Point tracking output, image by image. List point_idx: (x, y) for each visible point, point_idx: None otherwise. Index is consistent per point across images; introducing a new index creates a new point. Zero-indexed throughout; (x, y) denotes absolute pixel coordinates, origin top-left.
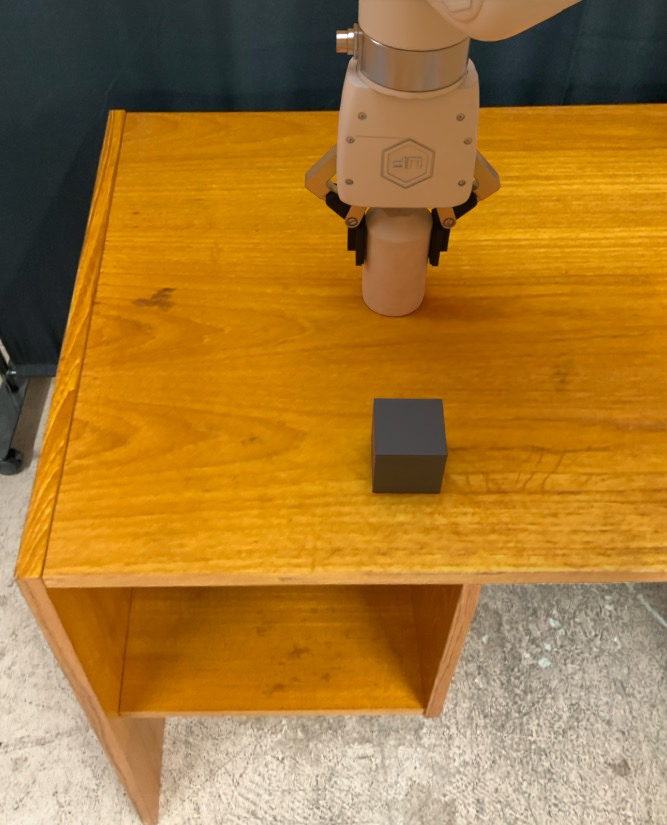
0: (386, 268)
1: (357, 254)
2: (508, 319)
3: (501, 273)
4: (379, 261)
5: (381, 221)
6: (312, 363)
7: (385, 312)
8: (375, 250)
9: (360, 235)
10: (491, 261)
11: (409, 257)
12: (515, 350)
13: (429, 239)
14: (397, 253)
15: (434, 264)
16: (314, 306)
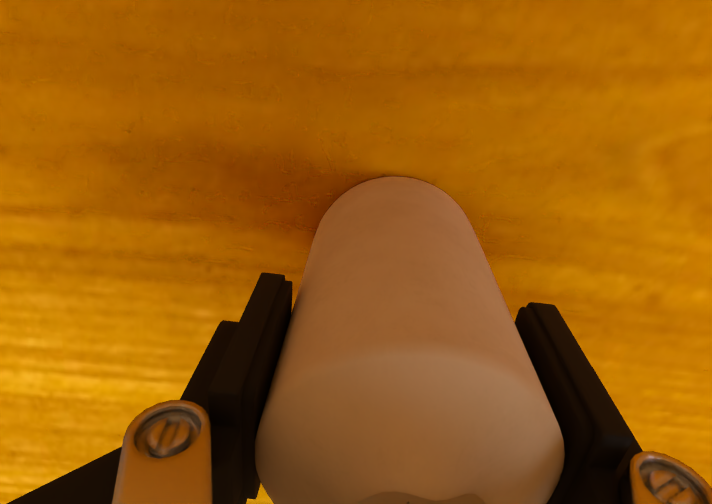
0: (460, 269)
1: (568, 336)
2: (94, 136)
3: (119, 288)
4: (489, 296)
5: (519, 472)
6: (696, 10)
7: (428, 186)
8: (516, 337)
9: (601, 409)
10: (143, 324)
11: (376, 290)
12: (66, 7)
13: (281, 363)
14: (434, 307)
15: (274, 277)
16: (604, 234)
